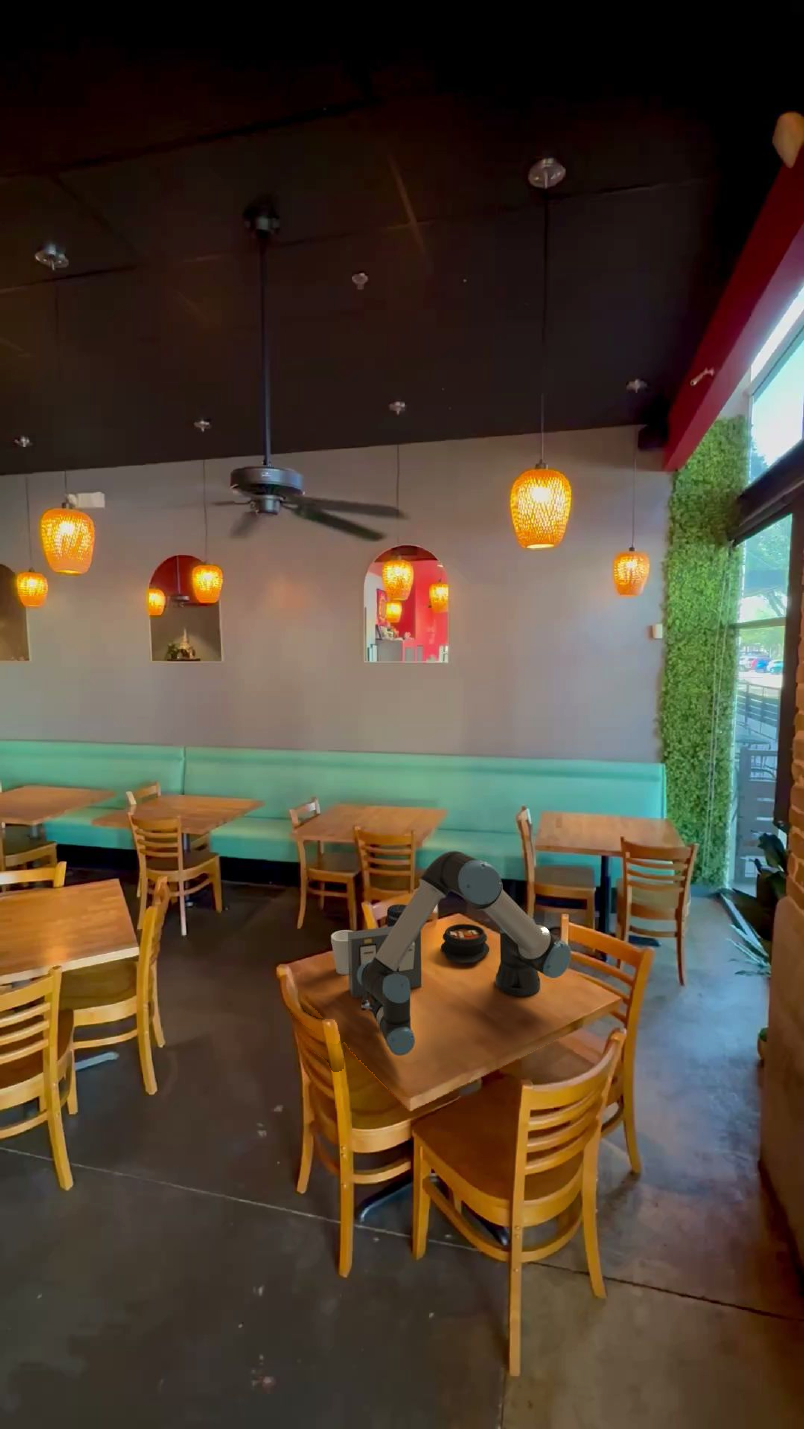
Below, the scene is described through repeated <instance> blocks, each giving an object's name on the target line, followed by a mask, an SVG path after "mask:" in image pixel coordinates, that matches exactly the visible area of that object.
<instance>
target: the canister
mask: <svg viewBox="0 0 804 1429" xmlns="http://www.w3.org/2000/svg"><path fill="white" fill-rule="evenodd" d="M407 905H408V904H401V903H399V904H398V903H396V904H393V905H390V906H389V907H388V908H387V910H386V916H387V917H386V922H387V923H386V924H387V926H386V927H391V926H394V925H395V924H396V922H397V920H398V919H399V917H400V916H401V914H402V913H403V911H404V909H405V908H406V906H407Z"/></svg>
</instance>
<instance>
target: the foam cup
mask: <svg viewBox="0 0 804 1429" xmlns="http://www.w3.org/2000/svg"><path fill="white" fill-rule="evenodd" d="M353 931H354V930H350V929H343V930H338V931H335V932H332V934H331V935H330V942H331V946H332V952H333V959H334V965H335V971H336V973H337V974H339V975H349V965H348V932H353Z"/></svg>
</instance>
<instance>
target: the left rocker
mask: <svg viewBox="0 0 804 1429" xmlns="http://www.w3.org/2000/svg"><path fill="white" fill-rule="evenodd" d="M375 955H376V946H375V945H368V946H360V958H361V965H362V964H363V963H365V962H366V961H372V960H373V958H374V957H375Z"/></svg>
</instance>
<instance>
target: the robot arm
mask: <svg viewBox="0 0 804 1429" xmlns="http://www.w3.org/2000/svg"><path fill="white" fill-rule="evenodd" d="M418 881H419V886H418V888H417V889H416V890H415V892H414V894H413V895H412V897H411V899H410V900H409V902H408V903H407V904H406V905H407V906H406V908H405V909H404V911H403V913H402V914H401V916H400V917H399V919H398V920H397V922H396V924H395V925H394V927H393V928H392V930H391V932H390V933H389V935H388V936H387V938H386V939H385V941H384V943H383V944H382V946H381V947H380V949H379V950H378V952H377V954H376V955H375V957H374V958H373V960H372V961H366V962H365V963H363V964H362V965H361V966H360V967H359V969H358V972H357V979H358V982H359V983H360V984H361V985H362V986H363V988H364V996H363V999H362V1000H361V1003H360V1004H361V1011H366V1010H367V1009H368V1010H369V1011H370V1012H371V1013H372V1015H373V1017H374V1018H375V1021H376V1024H377V1025H378V1028H379V1029H380V1032H381V1034H382V1035H383V1038H384V1040H385V1044H386V1046H387V1047H388V1048H389V1050H390V1052H391V1053H392V1054H394V1055H396V1056H404V1055H407V1054H410V1052H411V1051H412V1050H413V1048H414V1046H415V1043H416V1039H415V1035H414V1031H413V1030H412V1026H411V1025H412V1024H411V1022H412V1020H411V1018H412V1017H411V995H412V994H411V993H412V992H411V989H410V983H409V980H408V978H407V977H406V976H404V975H400V974H394V973H395V971H396V970H397V968H398V967H399V965H400V963H401V962H402V960H403V958H404V957H405V955H406V954H407V952H408V950H409V949H410V947H411V946H412V944H413V942H414V941H415V939H416V938H417V936H418V934H419V933H420V931H421V932H422V929H423V928H424V926H425V925H426V923H427V922H428V919H429V918H430V917H431V915H432V914H433V913H434V910H435V908H436V907H437V905H438V904H439V902H440V901H441V899H444V898H446V897H447V896H448V894H449V893H450V891H451V892H452V893H455V894H457V895H459V896H460V897H462V898H463V900H465V901H466V902H467V903H468V905H469V906H470V907H472V909H473V910H477V911H483V912H484V913H485V914H486V915H487V916H488V917H489V918H490V919H491V920H492V921H493V922H494V923H495V924H496V925H497V926H498V927H499V929H500V931H499V938H500V939H499V942H500V943H499V946H500V947H499V948H500V962H499V966H498V969H497V973H496V974H495V981H494V983H495V987H496V988H497V989H498V991H500V992H502V993H503V994H506V995H509V996H513V997H515V996H516V997H528V996H532V995H533V996H534V994H537V993H538V992H539V991H540V989H541V978H540V975H539V973H541V974H543V975H544V976H545V977H548V978H550V979H557V978H559V977H562V976H563V974H564V973H565V972H566V971H567V970H568V968H569V965H570V962H571V957H572V951H571V948H570V946H569V945H568V944H567V943H566V942H565V941H563V940H561V939H558V938H557V937H556V936H555V935H553V933H551V931H550V930H549V929H548V928H547V927H546V926H544V925H540V924H536V921H535V919H534V918H531V917H530V916H529V915H528V914H527V913H526V912H525V911H524V910H523V909H522V908H521V907H520V906H519V905H518V903H516V902H515V900H513V899H512V898H511V896H509V895H508V893H507V892H506V891H505V890H504V889H503V882H502V879H501V875H500V873H499V871H498V870H497V869H496V868H495V866H493V865H491V864H490V863H489V862H487V861H484V860H480V859H478V858H475V857H473V856H471V855H468V854H466V853H463V851H462V852H460V851H457V850H452V851H447V852H444V853H442V854H441V855H439V856H438V857H436V858H435V859H434V860H433V861H432V862H431V863H430V864H429V866H428V867H427V868H426V869H425V870H424V872H423V873H422V875H421V877H420V878H419V880H418ZM368 993H369V994H370V995H368ZM368 996H370V998H371V1001H370V1002H369V999H368V998H369V997H368Z"/></svg>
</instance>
